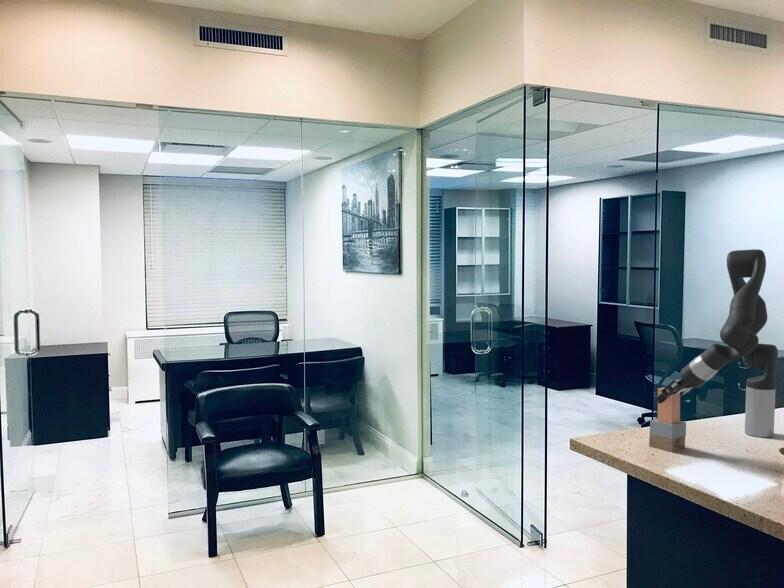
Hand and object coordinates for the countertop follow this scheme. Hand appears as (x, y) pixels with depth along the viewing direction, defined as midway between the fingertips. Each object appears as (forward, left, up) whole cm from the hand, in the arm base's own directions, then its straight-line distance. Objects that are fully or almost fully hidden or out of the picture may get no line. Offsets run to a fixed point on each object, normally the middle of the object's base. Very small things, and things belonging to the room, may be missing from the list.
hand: (665, 399), depth 210 cm
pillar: (0, +1, -7) cm, 7 cm away
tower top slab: (0, +1, -12) cm, 12 cm away
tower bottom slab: (0, +1, -16) cm, 16 cm away
